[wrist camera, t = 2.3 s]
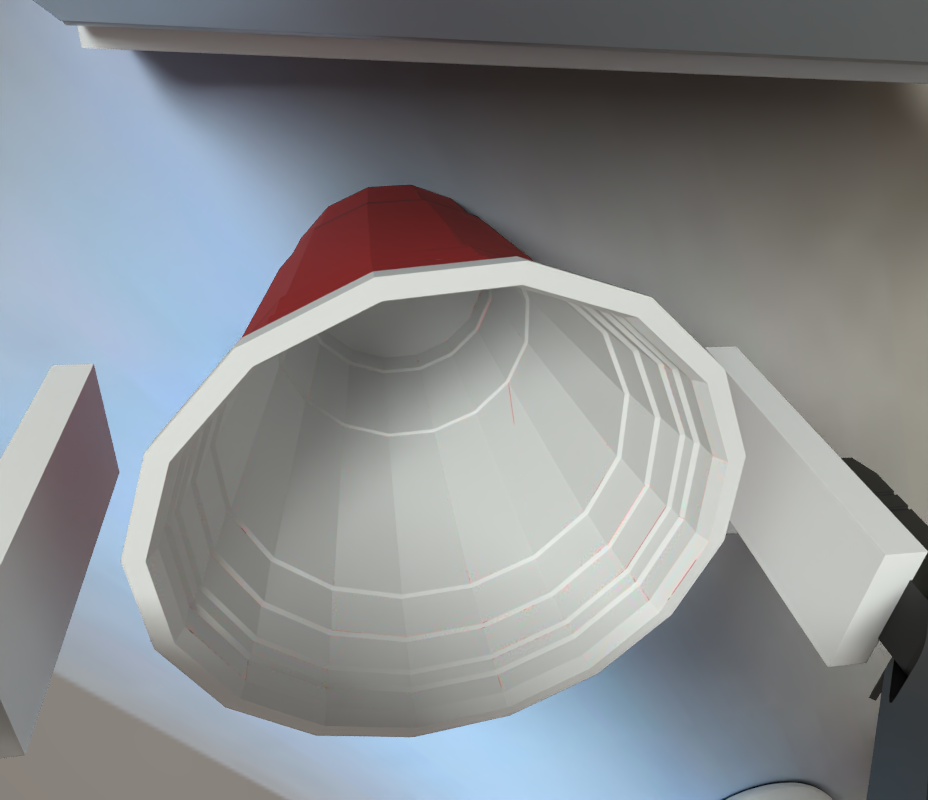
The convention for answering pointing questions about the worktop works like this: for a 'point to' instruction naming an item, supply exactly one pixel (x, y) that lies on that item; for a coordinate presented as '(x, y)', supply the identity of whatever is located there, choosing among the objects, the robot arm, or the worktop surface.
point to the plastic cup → (429, 481)
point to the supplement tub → (782, 793)
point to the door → (555, 23)
